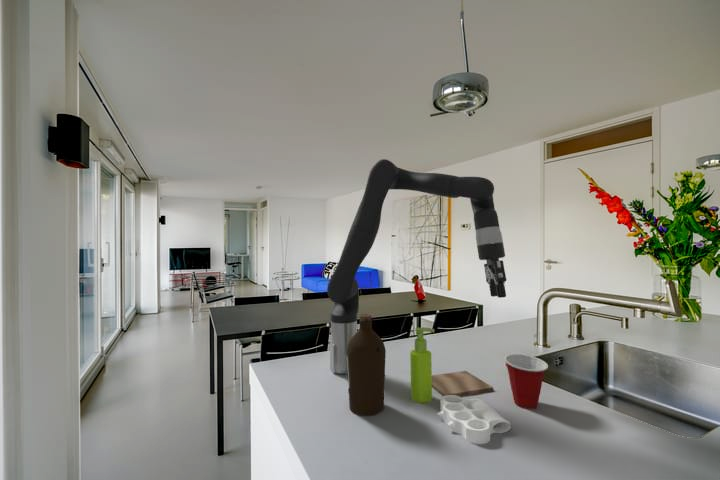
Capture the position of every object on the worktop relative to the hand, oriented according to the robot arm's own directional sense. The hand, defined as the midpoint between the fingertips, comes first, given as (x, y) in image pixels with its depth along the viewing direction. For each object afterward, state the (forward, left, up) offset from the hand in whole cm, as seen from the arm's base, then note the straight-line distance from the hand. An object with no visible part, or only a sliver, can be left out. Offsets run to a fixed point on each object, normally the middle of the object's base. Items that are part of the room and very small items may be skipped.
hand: (498, 296), depth 102 cm
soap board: (-10, +8, -28) cm, 31 cm away
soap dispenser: (-24, +3, -28) cm, 37 cm away
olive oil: (-41, +3, -28) cm, 50 cm away
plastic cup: (+1, -9, -28) cm, 30 cm away
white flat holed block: (-19, -12, -29) cm, 37 cm away
